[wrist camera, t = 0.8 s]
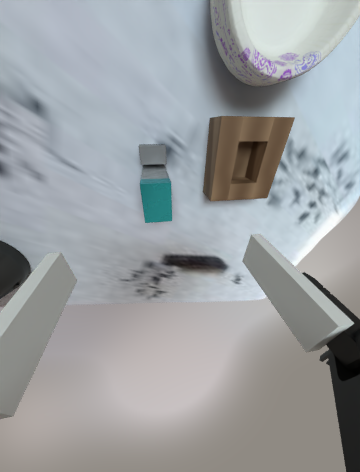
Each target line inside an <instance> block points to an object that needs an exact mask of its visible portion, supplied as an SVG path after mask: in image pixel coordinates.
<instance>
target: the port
mask: <svg viewBox="0 0 360 472" xmlns="http://www.w3.org/2000/svg"><path fill="white" fill-rule="evenodd" d="M294 119H295V118H293V117H242V116H219V117H213V118H210V124H209V134H208V145H207V156H206V166H205V177H204V187H203V192H204V194H205V195H206V196H207V197H208V198H209V200H210V201H223V200H241V199H258V198H267V197H268V194H269V191H270V188H271V185H272V182H273V179H274V177H275V174H276V171H277V168H278V165H279V162H280V159H281V156H282V153H283V151H284V148H285V145H286V142H287V139H288V136H289V133H290V130H291V127H292V125H293V122H294Z"/></svg>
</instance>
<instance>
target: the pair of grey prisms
mask: <svg viewBox="0 0 360 472" xmlns="http://www.w3.org/2000/svg"><path fill="white" fill-rule="evenodd" d="M139 153H140V160H141V165H148V164H166V146H165V145H164V144H143V145H139Z"/></svg>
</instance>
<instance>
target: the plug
mask: <svg viewBox="0 0 360 472" xmlns="http://www.w3.org/2000/svg"><path fill="white" fill-rule="evenodd" d="M140 189H141V196H142V203H143V210H144V217H145V223H150V222H164V221H172V201H171V181H170V179H169V176H168V173H167V171H166V168H165V165H164V164H148V165H143V170H142V175H141V181H140Z"/></svg>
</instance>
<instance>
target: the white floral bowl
mask: <svg viewBox="0 0 360 472" xmlns="http://www.w3.org/2000/svg"><path fill="white" fill-rule="evenodd" d="M210 11H211V21H212V29H213V36H214V39H215V42H216V46H217V49H218V52H219V54H220V56H221V58H222V60H223V61H224V63H225V65H226V67H227V68H228V70H229V71H230V72H231V73H232V74H233V75H234V76H235V77H236V78H237V79H238V80H239V81H241V82H243V83H245V84H247V85H251V86H259V87H261V86H268V85H273V84H276V83H280V82H283V81H286V80H288V79H292V78H295V77H297V76H300V75H302V74H304V73H305V72H307V71H309V70H310V69H312V68H313V67H315V66H316V65H317V64H319V63H320V62H321V61H322V60H323V59H324V58H326V57H327V56H328V55H329V54H330V52H332V50H333V49H334V48H335V47H336V46H337V45H338V44H339V43H340V42H341V41H342V39H343V38H344V37H345V36H346V34H347V33H348V32H349V30H350V29H351V27H352V26H353V25H354V23H355V22H356V20H357V19H358V17H359V16H360V0H210Z"/></svg>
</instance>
